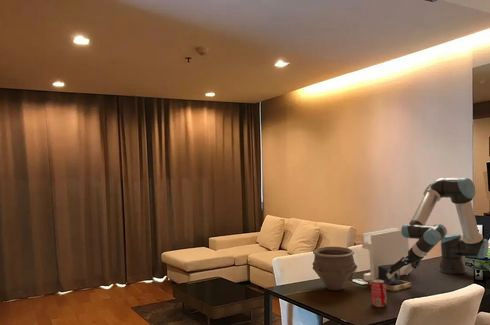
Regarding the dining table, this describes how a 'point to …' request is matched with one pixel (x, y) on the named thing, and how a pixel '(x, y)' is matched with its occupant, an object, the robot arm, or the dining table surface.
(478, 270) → the dining table surface
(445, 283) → the dining table surface
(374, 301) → the soda can
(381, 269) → the small box
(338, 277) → the planter
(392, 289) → the tray
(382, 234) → the block
